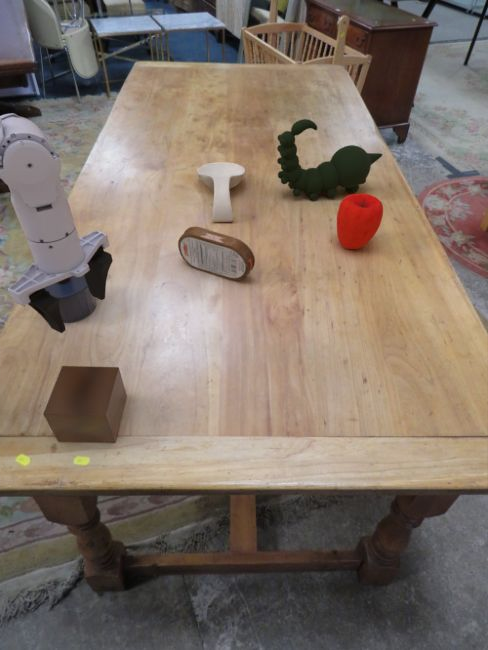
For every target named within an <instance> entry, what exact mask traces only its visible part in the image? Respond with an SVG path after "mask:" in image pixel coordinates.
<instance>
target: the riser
mask: <svg viewBox="0 0 488 650" xmlns="http://www.w3.org/2000/svg"><path fill="white" fill-rule="evenodd" d="M122 377H123V376H122V373H121V370H120V367H119V366H85V365H83V366H82V365H81V366H78V365H62V366H61V368H60V370H59V373H58V375H57V377H56V380H55V383H54V386H53V387H52V390H51V393H50V396H49V398H48V401H47V402H46V403H47V404H46V405H45V408H44V410H43V413H42V415H43V416H44V419H45V420H46V422H47V424H48V426H49V428H50V429H51V432H52V433H53V435H54V438H55V439H56V441H57V442H58V443H59V442H61V443H62V442H63V443H105V444H106V443H107V444H108V443H109V444H110V443H111V444H113V443H114V444H115V443H117V438H118V434H119V430H120V426H121V421H122V417H123V414H124V409H125V405H126V401H127V397H128V395H127V391H126V388H125V385H124V381H123V378H122Z"/></svg>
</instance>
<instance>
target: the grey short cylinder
mask: <svg viewBox="0 0 488 650" xmlns="http://www.w3.org/2000/svg"><path fill="white" fill-rule="evenodd" d="M97 305H98V302H97V298H96V297H94V296H92V295H91V293H90V291H89V289H88V288H87V289H86V290H85V291H83V292H82V293H80V294H78V295H76V296H74V297H71V298H67V299H61V300H59V308H60V314H61V317H62V320H63V322H64V324H69V323H74V322H79V321H82V320H84V319H85V318H87V317H88V316H90V315H91V314H92V313H93V312H94V311H95V310H96V307H97Z"/></svg>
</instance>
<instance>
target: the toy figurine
mask: <svg viewBox="0 0 488 650" xmlns="http://www.w3.org/2000/svg"><path fill="white" fill-rule="evenodd" d="M309 129H312V130H314V131H317V130H318V125H317V124H316V123H315V122H314V121H312V120H311V119H307V118H306V119H305V118H303V119H299V120H297V121H296V122H294V123H293V124H292V125H291V128H290V130H285V131H283V132H282V133H281V134H278V135H277V140H278V141H279V145H277V148H276V149H277V152H279V155H280V156H279V157H278V158H277V160H276V161H277V164H278V165H280V171H278V173H277V178H278V179H280V183H281V184H282V185H287V186H288V188H289V190H292V192H291V193H292V195H293V197H296V198H298V197H300V196H301V195H302V192H303V193H304V194H306V195H308V197H309V199H310V200H312V201H315V200H317V199H318V197H319V194H320V193H321V192H325V194H326V195H327V197H328V198H334V197H335V196H336V195H337V193H338V190H337V189H338V188H339V187H341V188H344V190H345V191H346V192H347V193H349V192H350V193H349V194H356V193H357V192H358V191H359V189H360V186H361V185H364V184H365V183H366V182H367V178H368V176H369V174H370V171H371V166H372V165H373V164H374V163H375V162H377V161H378V160H380V159H381V158H382V157H383V153H379V152H374V153H373V152H367V151H366V149H364V148H363V147H360V146H358V145H354V144H350V145H346V146H342V147H341V148H339V149H338V150H337V151H335V152H334V153H333V155H332V156H331V158H330V160H328V161H322V162H321V163H320V164H318V165H317V166H316V167H309V168H307V169H305V168H303V167H302V165H301V164H300V159H299V156H298V154H297V153H298V148H297V147H298V146H297V144H296V136H300V135H301V134H303V132H305V131H306V130H309Z"/></svg>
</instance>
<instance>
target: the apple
mask: <svg viewBox="0 0 488 650" xmlns="http://www.w3.org/2000/svg"><path fill="white" fill-rule="evenodd" d="M383 216H384V205H383V202H382V201H381V200H380V199H379V198H377V197H376V196H374V195H372V194H370V193H369V194H368V193H364V192H363V193H350V194H348V195H346V196H344V197H343V198H342V200H341V202H340V203H339V205H338V210H337V214H336V235H337V238H338V242H339V245H340V246H341V247H343V248H344V249H347V250H359V249H361V248H363V247H365V246H366V245H367V244H368V243H369V242H371V240H372V239H373V238H374V237H375V235H376V233H377V232H378V230H379V228H380V226H381V223H382V219H383Z"/></svg>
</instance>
